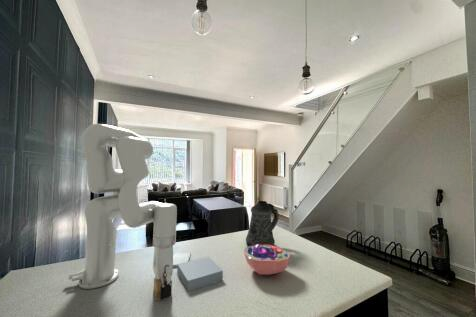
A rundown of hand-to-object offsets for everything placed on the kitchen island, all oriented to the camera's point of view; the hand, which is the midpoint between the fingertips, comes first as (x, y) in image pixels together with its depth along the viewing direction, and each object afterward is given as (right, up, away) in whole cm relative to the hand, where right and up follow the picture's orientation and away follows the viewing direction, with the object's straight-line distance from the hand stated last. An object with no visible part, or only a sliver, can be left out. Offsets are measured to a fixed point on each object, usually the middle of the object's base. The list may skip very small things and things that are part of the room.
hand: (162, 289), depth 67 cm
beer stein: (+40, -5, +45) cm, 60 cm away
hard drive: (-1, -3, +24) cm, 24 cm away
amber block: (0, -1, 0) cm, 1 cm away
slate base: (+10, -3, +11) cm, 16 cm away
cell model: (+38, -3, +16) cm, 42 cm away
